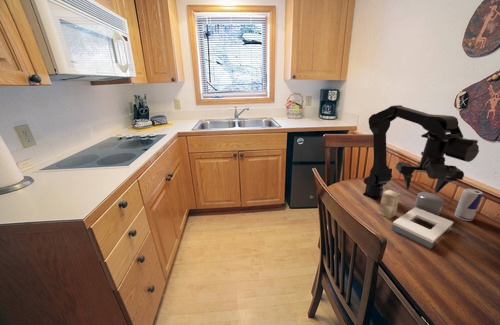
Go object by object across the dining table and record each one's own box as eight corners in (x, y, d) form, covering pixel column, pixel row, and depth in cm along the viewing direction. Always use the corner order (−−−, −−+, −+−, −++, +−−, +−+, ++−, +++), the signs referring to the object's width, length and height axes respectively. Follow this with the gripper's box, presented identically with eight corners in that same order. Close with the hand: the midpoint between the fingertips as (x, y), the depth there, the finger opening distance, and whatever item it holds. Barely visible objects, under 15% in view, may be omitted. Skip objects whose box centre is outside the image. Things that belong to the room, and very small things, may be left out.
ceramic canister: (410, 209, 90) (414, 195, 87) (418, 204, 94) (422, 190, 92) (434, 219, 83) (439, 204, 81) (442, 213, 87) (447, 198, 85)
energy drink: (476, 222, 81) (487, 194, 77) (460, 220, 82) (470, 193, 78) (465, 214, 86) (476, 188, 82) (450, 213, 87) (460, 187, 83)
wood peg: (378, 213, 88) (383, 192, 84) (383, 210, 90) (388, 189, 87) (389, 218, 84) (395, 197, 81) (395, 215, 86) (400, 193, 83)
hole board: (391, 229, 78) (393, 221, 77) (413, 214, 87) (415, 207, 86) (430, 249, 68) (433, 240, 67) (450, 229, 77) (453, 221, 76)
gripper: (411, 156, 69) (399, 197, 75) (482, 162, 64) (464, 206, 70) (400, 147, 79) (390, 183, 85) (461, 151, 74) (447, 190, 79)
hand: (421, 190), depth 79 cm, fingers open, 9 cm apart
